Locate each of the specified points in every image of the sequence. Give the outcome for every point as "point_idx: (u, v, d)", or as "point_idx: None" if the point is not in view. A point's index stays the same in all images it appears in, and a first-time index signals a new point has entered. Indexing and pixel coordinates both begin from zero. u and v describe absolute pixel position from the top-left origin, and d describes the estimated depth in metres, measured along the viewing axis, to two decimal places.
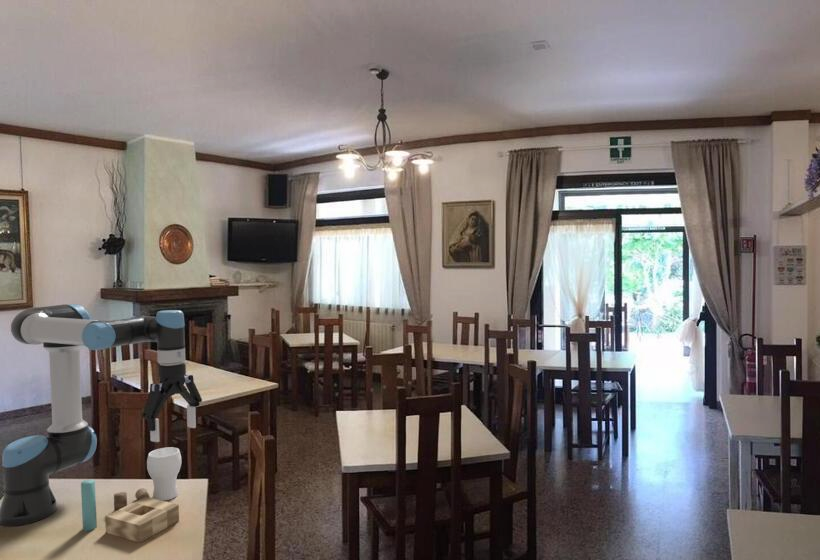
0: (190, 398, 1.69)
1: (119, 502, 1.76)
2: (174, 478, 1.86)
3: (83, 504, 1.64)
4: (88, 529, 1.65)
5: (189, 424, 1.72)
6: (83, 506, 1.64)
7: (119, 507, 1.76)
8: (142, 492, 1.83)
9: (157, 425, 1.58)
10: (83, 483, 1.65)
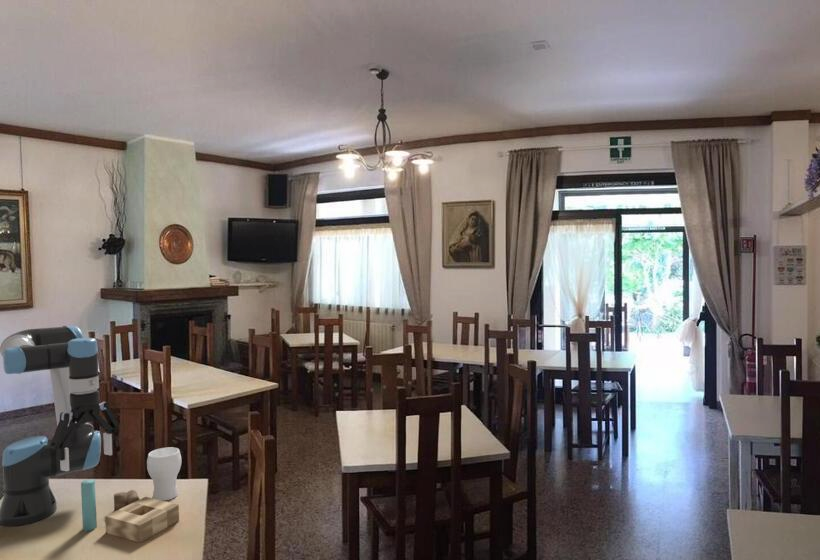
0: (105, 425, 1.69)
1: (119, 502, 1.76)
2: (174, 478, 1.86)
3: (83, 504, 1.64)
4: (88, 529, 1.65)
5: (105, 451, 1.71)
6: (83, 506, 1.64)
7: (119, 507, 1.76)
8: None
9: (67, 454, 1.58)
10: (83, 483, 1.64)
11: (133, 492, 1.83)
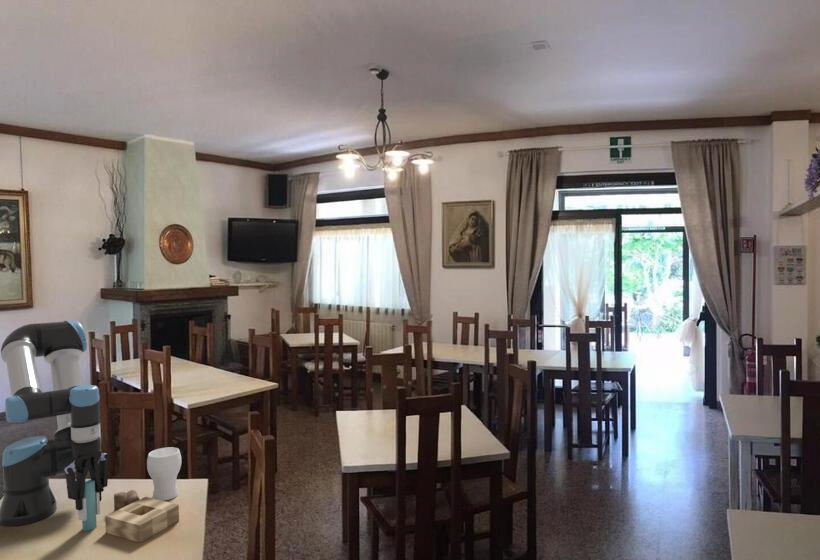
0: (97, 480, 1.67)
1: (119, 502, 1.76)
2: (174, 478, 1.86)
3: None
4: (88, 529, 1.64)
5: None
6: None
7: (119, 507, 1.76)
8: None
9: (85, 504, 1.63)
10: None
11: (133, 492, 1.83)
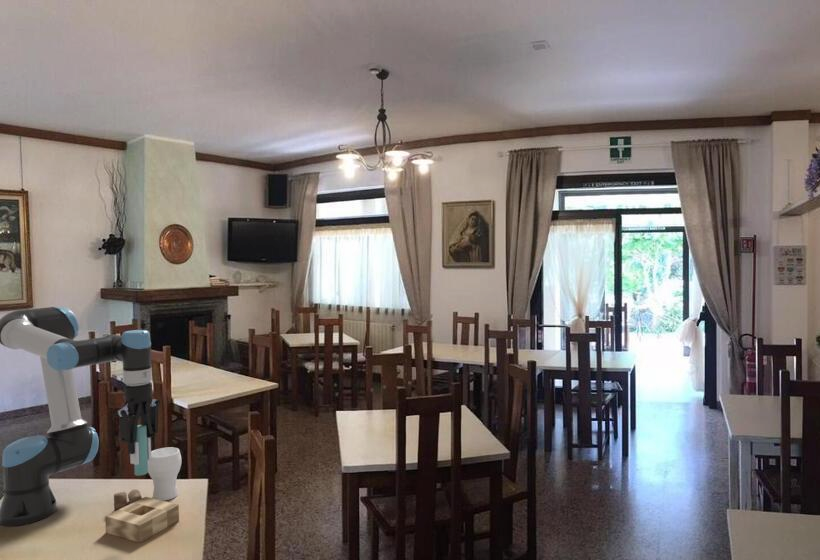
0: (148, 425, 1.67)
1: (119, 502, 1.76)
2: (174, 478, 1.86)
3: None
4: (140, 473, 1.64)
5: None
6: None
7: (119, 507, 1.76)
8: (129, 500, 1.81)
9: (137, 448, 1.63)
10: None
11: (138, 492, 1.84)
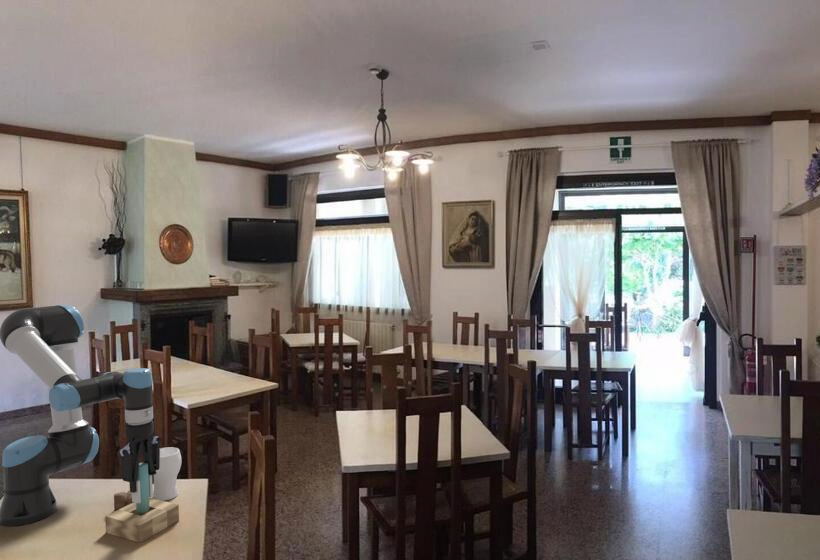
0: (150, 463, 1.67)
1: (119, 502, 1.76)
2: (174, 478, 1.86)
3: None
4: (142, 512, 1.65)
5: None
6: None
7: (119, 507, 1.76)
8: None
9: (139, 486, 1.64)
10: None
11: None
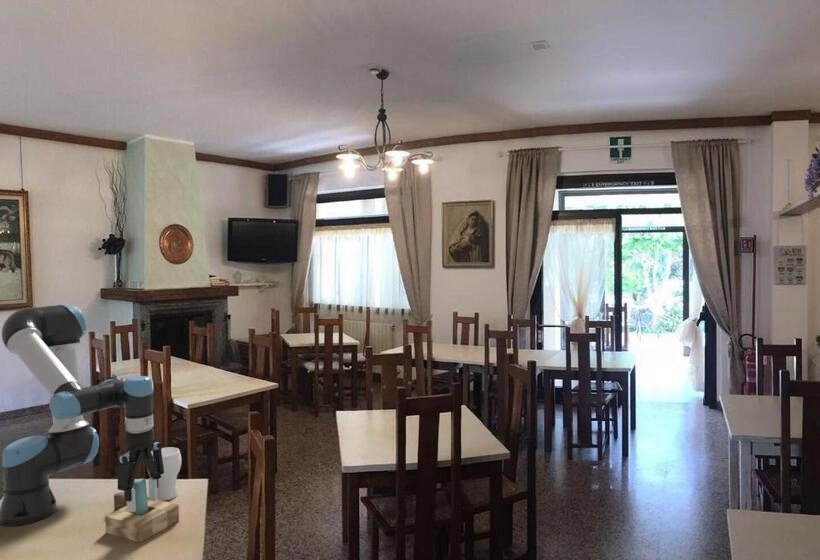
0: (153, 468, 1.69)
1: (119, 502, 1.76)
2: (174, 478, 1.86)
3: (136, 503, 1.64)
4: None
5: (150, 497, 1.70)
6: (136, 505, 1.64)
7: (119, 507, 1.76)
8: None
9: (134, 495, 1.62)
10: (135, 483, 1.64)
11: None
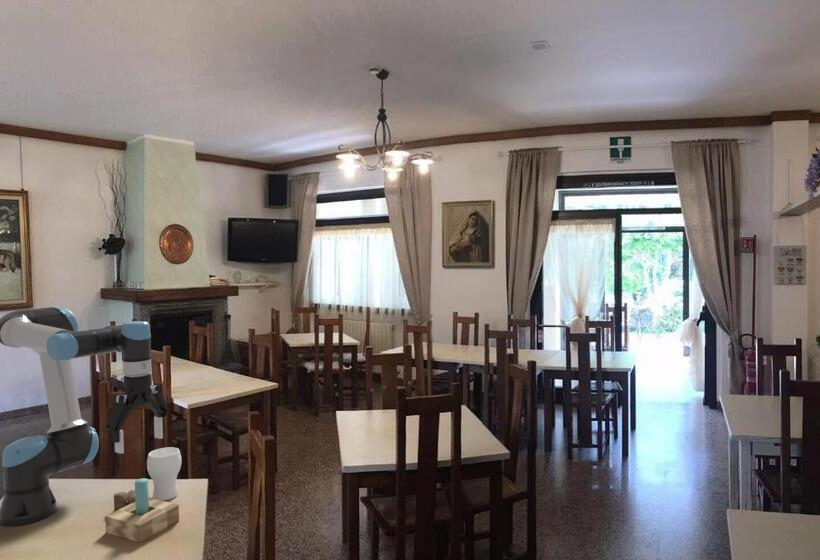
0: (157, 409, 1.70)
1: (119, 502, 1.76)
2: (174, 478, 1.86)
3: (137, 503, 1.65)
4: None
5: (156, 435, 1.72)
6: (137, 505, 1.65)
7: (119, 507, 1.76)
8: None
9: (122, 436, 1.59)
10: (137, 482, 1.65)
11: None
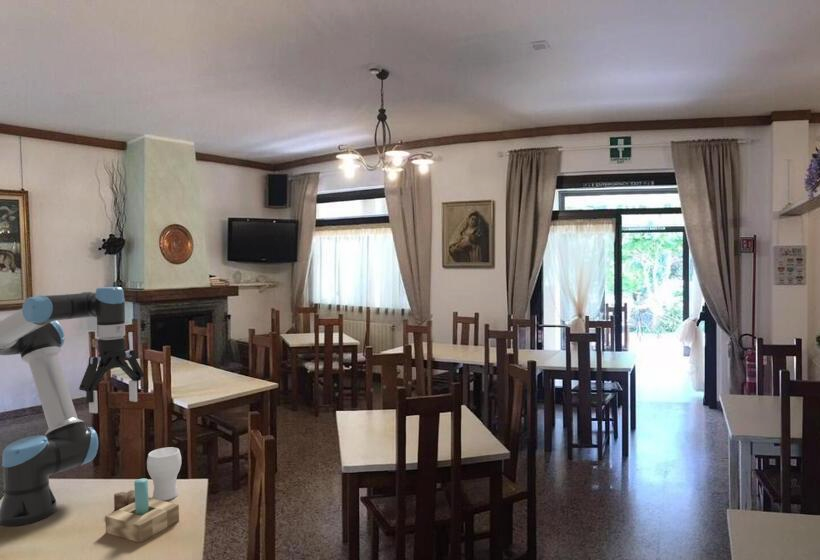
0: (131, 372, 1.75)
1: (119, 502, 1.76)
2: (174, 478, 1.86)
3: (137, 503, 1.65)
4: None
5: (131, 398, 1.77)
6: (137, 505, 1.65)
7: (119, 507, 1.76)
8: None
9: (96, 396, 1.64)
10: (136, 482, 1.65)
11: (133, 492, 1.83)
